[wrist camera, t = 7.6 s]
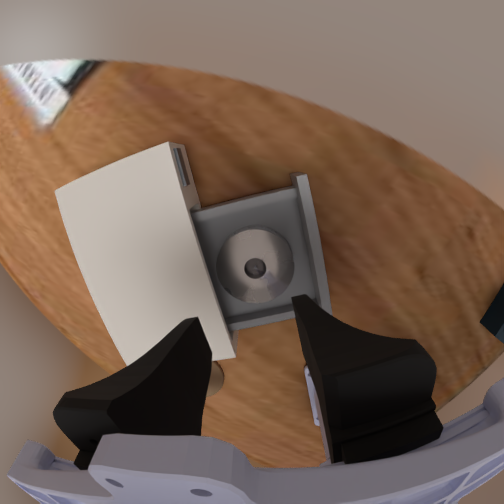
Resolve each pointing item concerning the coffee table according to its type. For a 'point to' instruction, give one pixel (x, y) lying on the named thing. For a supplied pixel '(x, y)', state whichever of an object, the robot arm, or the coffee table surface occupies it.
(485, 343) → the coffee table surface
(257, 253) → the disc
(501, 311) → the watch
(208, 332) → the player
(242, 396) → the coffee table surface
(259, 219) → the tray
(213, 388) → the stand
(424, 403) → the robot arm
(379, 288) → the coffee table surface
